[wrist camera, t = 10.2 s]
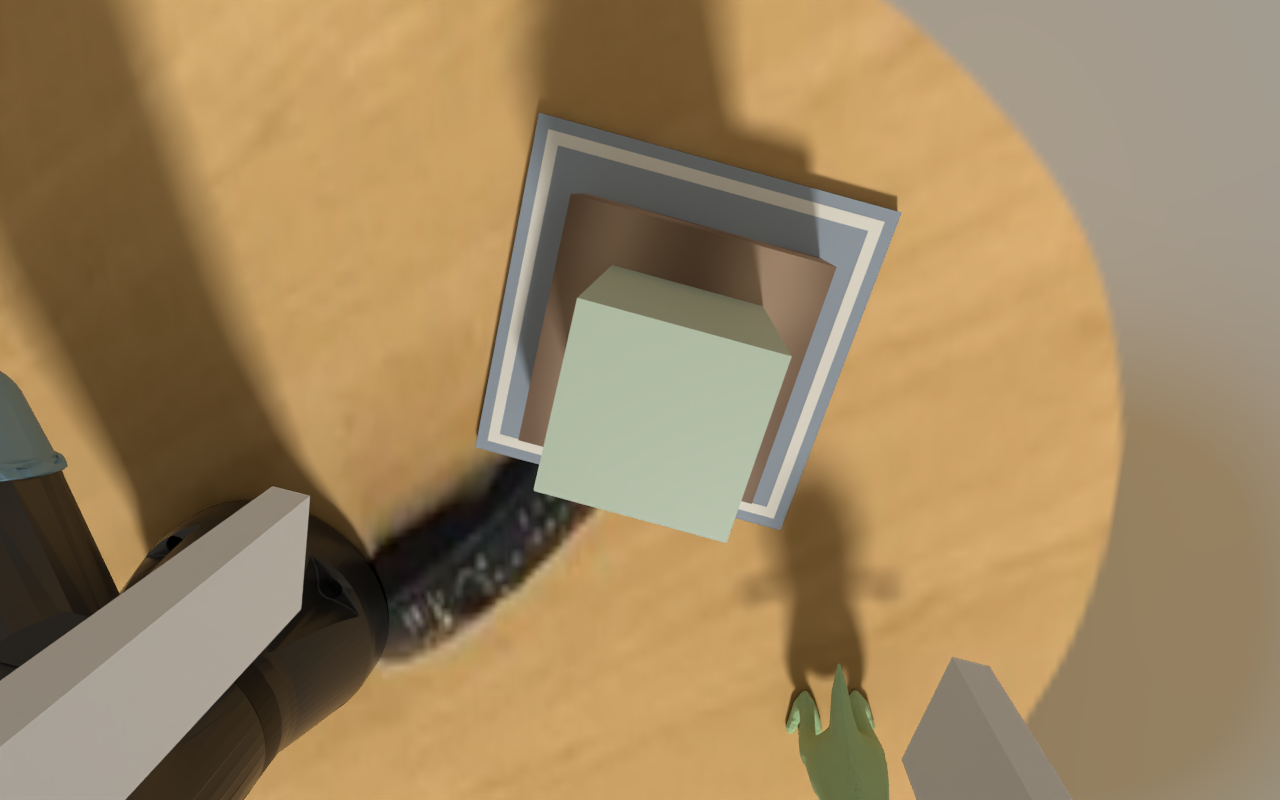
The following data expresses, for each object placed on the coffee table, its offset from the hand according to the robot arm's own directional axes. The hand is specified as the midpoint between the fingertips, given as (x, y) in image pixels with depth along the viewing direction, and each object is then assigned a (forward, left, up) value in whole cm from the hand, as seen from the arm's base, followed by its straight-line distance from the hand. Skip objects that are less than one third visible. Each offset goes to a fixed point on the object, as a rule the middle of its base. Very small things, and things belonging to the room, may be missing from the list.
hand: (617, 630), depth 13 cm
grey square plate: (0, +1, -23) cm, 23 cm away
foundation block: (0, +1, -22) cm, 22 cm away
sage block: (0, +1, -18) cm, 18 cm away
